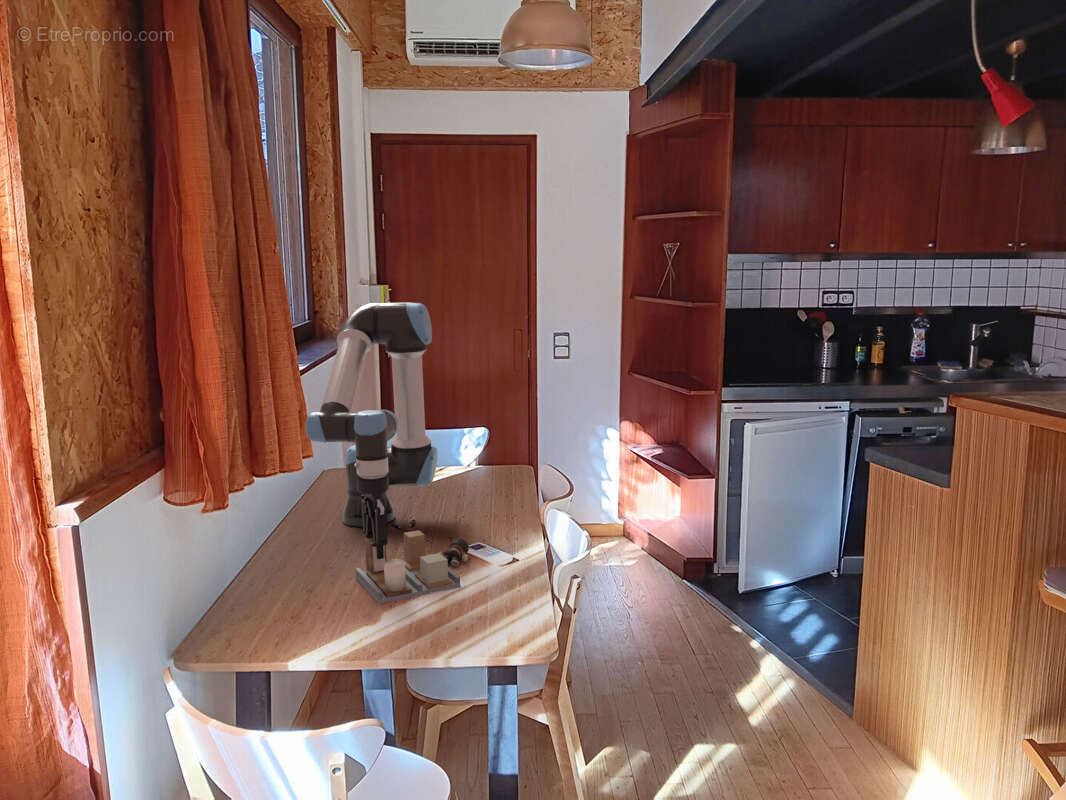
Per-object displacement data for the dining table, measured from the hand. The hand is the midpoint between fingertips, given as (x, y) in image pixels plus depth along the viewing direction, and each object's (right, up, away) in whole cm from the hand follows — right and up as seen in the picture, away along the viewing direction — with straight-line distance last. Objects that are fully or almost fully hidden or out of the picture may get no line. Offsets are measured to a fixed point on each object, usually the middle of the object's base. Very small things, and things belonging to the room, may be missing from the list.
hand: (376, 567), depth 206 cm
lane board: (+8, -3, -4) cm, 10 cm away
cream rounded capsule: (+7, -2, -12) cm, 14 cm away
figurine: (+18, -1, +11) cm, 21 cm away
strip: (+4, -2, -6) cm, 8 cm away
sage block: (+15, -1, -7) cm, 16 cm away
